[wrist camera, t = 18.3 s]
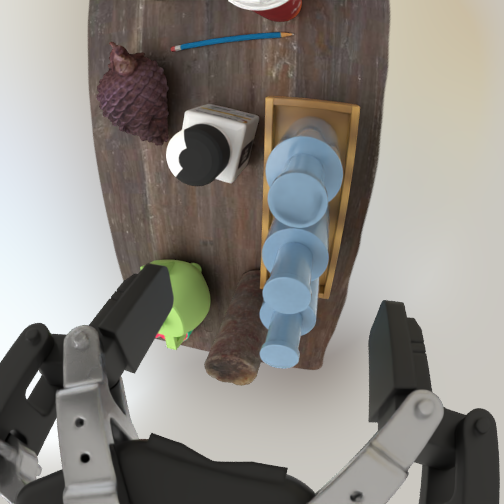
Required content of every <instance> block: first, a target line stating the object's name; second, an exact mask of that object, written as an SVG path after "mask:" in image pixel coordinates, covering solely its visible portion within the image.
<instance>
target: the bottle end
mask: <svg viewBox="0 0 504 504" xmlns="http://www.w3.org/2000/svg"><path fill="white" fill-rule="evenodd" d="M319 285H320V277H318V278H317V279H316V280H314V281H311V283H310V287H311V290H312V297H311V302H310V304H309V306H308V307H307V308H306V309H305V310H303V311H301V312H299V313H295V314H284V313H280V312H277V311H275V310H273V309H272V308H270V307H269V306H268V305H267V304H266V302H265V301H264V299H263V302H262V306H261V309H260V319H261V322H262V323H263V325H264V326H265V327H266V328H267V329H268V332H267V336H266V340H265V343H264V344H263V345H262V347H261V350H260V357H261V359H262V360H263V361H264V362H265V363H266V364H268V365H270V366H273V367H276V368H290V367H293V366H295V365H296V364H297V363H298V361H299V356H300V353H299V350H298V349H299V343H300V337H301V335H304V334H306V333H308V332H309V331H311V330H312V329H313V327H314V325H315V323H316V316H317V306H318V296H319Z"/></svg>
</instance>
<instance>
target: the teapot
mask: <svg viewBox="0 0 504 504" xmlns="http://www.w3.org/2000/svg"><path fill="white" fill-rule="evenodd" d="M151 264H156V265H162V266H166V267H167V268H168V271H169V275H170V281H171V286H172V291H173V296H174V302H173V307H172V310H171V312H170V313H169V315H168V317H167V318H166V320H165V322H164V323H163V325H162V327H161V329H160V330H159V332H158V334H162V335H164V336H165V340H166V344H167V348H170V349H174V350H177V348H178V347H179V346H180V344H181V343H182V342H183V340H184V339H185V338H186V334H187V333H188V332H190V331H192V330H193V329H194V328H196V327H197V326H198V325H199V324H200V323H201V322H202V321H203V320H204V318H205V317H206V315H207V313H208V311H209V308H210V293H209V289H208V286H207V283H206V281H205V279H204V277H203V275H202V274H201V271H202V269H201V267H200V266H199V265H198V264H196V263H191V264H190V263H187V262H184V261H179V260H156V261H153V262H151ZM144 266H145V265H144ZM144 266H141V267H140V269H141V270H142V269H143V268H144Z"/></svg>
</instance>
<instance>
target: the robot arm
mask: <svg viewBox="0 0 504 504" xmlns="http://www.w3.org/2000/svg"><path fill="white" fill-rule="evenodd" d="M173 302H174V296H173V291H172V286H171V281H170V275H169V271H168V268H167V267H166V266H162V265H156V264H151V263H148V264H146V265H145V266H144V268H143V269H142V270H141V271H140V272H139V274H134V275H132V276H131V277H129V278H127V279H126V280H124V281H123V283H122V284H121V285H120V287H119V288H118V289H117V292H116V291H115V293H114V294H113V295H112V296H111V299H109V300H108V301H107V303H106V304H105V305H104V306H103V308H102V309H101V310H100V312H99V313H98V314H97V315H96V317H95V318H94V319H93V321H92V322H91V323H90V324H89V326H88V325H82V326H78V327H76V328H74V329H72V330H71V331H70V332H69V333H68V334H67V335H62V334H51V333H50V332H49V330H48V328H47V327H46V326H45V325H44V324H42V323H35V324H32V325H30V326H28V327H27V328H26V329H24V331H23V332H22V333H21V334H20V336H19V337H18V339H17V340H16V341H15V343H14V344H13V345H12V347H11V348H10V350H9V351H8V352H7V354H6V356H5V357H4V358H3V360H2V361H1V363H0V495H1V496H2V497H3V498H4V499H5V500H6V501H7V502H9V503H10V504H386V503H387V502H388V500H389V499H390V498H391V497H392V496H393V495H394V494H395V492H396V491H397V490H398V489H399V487H400V486H401V485H402V484H403V482H404V481H405V480H406V478H407V476H408V469H409V468H410V466H411V465H412V464H413V462H416V463H419V464H422V478H421V489H420V499H419V504H499V488H500V485H499V484H500V482H499V481H500V477H499V451H498V438H497V428H496V422H495V420H494V418H493V416H492V415H491V414H490V413H489V412H488V411H487V410H485V409H481V408H477V409H473V410H472V411H470V412H469V413H468V414H467V415H464V414H460V413H458V412H455V411H451V410H449V409H446V408H445V407H443V404H442V402H441V400H440V399H439V397H438V396H437V395H435V394H434V393H433V392H432V388H431V381H430V374H429V368H428V361H427V356H426V354H425V352H426V351H425V345H424V344H423V343H424V340H423V335H422V330H421V328H420V326H419V325H418V324H417V322H416V320H415V319H414V318H407V316H406V311H405V306H404V303H402V302H395V301H386V300H383V301H382V303H381V305H380V308H379V311H378V313H377V316H376V318H375V321H374V323H373V326H372V328H371V331H370V335H369V422H378V431H377V432H376V434H375V435H374V436H373V437H372V438H371V439H370V440H369V442H368V443H367V444H366V445H365V446H364V447H363V448H362V449H361V450H360V451H359V452H358V453H357V454H356V455H355V457H353V458H352V460H351V461H350V462H349V463H348V464H347V465H346V466H344V467H343V468H342V469H341V470H340V471H339V472H338V473H337V474H336V475H335V476H334V477H333V478H332V479H331V480H330V481H328V482H327V483H326V484H325V485H324V486H323V487H322V488H321V489H319V490H318V491H317V492H316V493H314V491H313V490H312V489H310V488H309V487H308V486H307V485H306V484H304V483H303V482H301V481H300V480H298V479H296V478H294V477H292V476H290V475H287V474H286V473H287V469H288V468H285V467H278V466H273V465H267V464H262V463H256V462H217V461H212V460H210V459H208V458H206V457H204V456H203V455H201V454H199V453H197V452H196V451H194V450H192V449H190V448H188V447H187V446H185V445H184V444H182V443H179V442H176V441H173V440H170V439H167V438H164V437H162V436H159V435H156V434H153V433H151V435H150V437H149V439H139V438H138V435H137V433H136V430H135V428H134V426H133V424H132V421H131V418H130V414H129V410H128V405H127V400H126V396H125V391H124V385H123V381H122V377H121V375H122V373H123V371H124V370H126V371H129V372H132V373H135V372H136V370H137V368H138V367H139V365H140V363H141V361H142V360H143V358H144V356H145V354H146V353H147V351H148V349H149V347H150V346H151V344H152V342H153V340H154V339H155V337H156V335H157V334H158V332H159V330H160V329H161V327H162V325H163V323H164V322H165V320H166V318H167V317H168V315H169V313H170V312H171V310H172V307H173ZM38 370H39V372H40V373H41V374H42V376H41V378H40V380H39V381H38V383H37V384H36V386H35V388H34V389H33V391H32V393H31V394H30V396H29V398H28V399H26V396H25V393H26V389H27V387H28V386H29V384H30V382H31V381H32V379H33V378H34V376H35V375H36V373H37V371H38ZM56 418H57V427H58V437H59V447H60V455H61V462H62V468H63V469H62V470H59V471H57V472H54V473H52V474H50V475H47V476H45V477H42V478H39V479H37V480H36V476H39V475H40V474H41V470H42V469H41V467H40V465H39V464H38V459H37V456H38V454H39V452H40V450H41V448H42V446H43V444H44V441H45V439H46V437H47V435H48V433H49V431H50V429H51V427H52V426H53V424H54V421H55V420H56Z"/></svg>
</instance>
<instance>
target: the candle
mask: <svg viewBox="0 0 504 504" xmlns="http://www.w3.org/2000/svg"><path fill="white" fill-rule="evenodd" d="M260 276H261V271H257V270H256V271H249V272H247V273H245V274H244V275H243V276H242V277H241V279H240V281H239V283H238V286H237V288H236V290H235V293H234V295H233V298H232V300H231V303H230V305H229V307H228V310H227V312H226V315H225V317H224V320H223V322H222V324H221V327H220V329H219V331H218V334H217V336H216V338H215V340H214V343H213V346H212V348H211V350H210V352H209V355H208V357H207V359H206V361H205V364H204V365H205V369H206V372H207V373H208V374H209V375H210V376H211V377H213V378H216V379H217V380H219V381H222V382H229V383H234V384H236V385H246V384H250V383H251V382H252V381H253V380H254V379H255V378H256V376H257V373H258V369H259V366H260V363H261V357H260V350H261V347H262V345H263V344H264V343H265V340H266V336H267V332H268V329H267V328H266V327H265V326H264V325H263V323H262V322H261V319H260V309H261V306H262V302H263V299H264V298H263V289H260Z"/></svg>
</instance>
